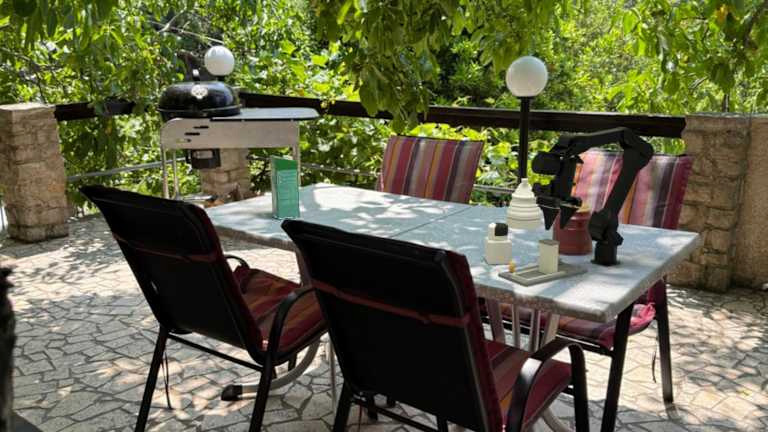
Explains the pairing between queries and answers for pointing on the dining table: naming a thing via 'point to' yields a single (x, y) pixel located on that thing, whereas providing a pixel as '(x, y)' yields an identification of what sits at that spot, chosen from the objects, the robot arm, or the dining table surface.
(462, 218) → the dining table surface
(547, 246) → the fader tab
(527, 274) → the console
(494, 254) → the medicine bottle
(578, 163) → the robot arm
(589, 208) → the canister
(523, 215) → the honey pot
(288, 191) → the milk carton
